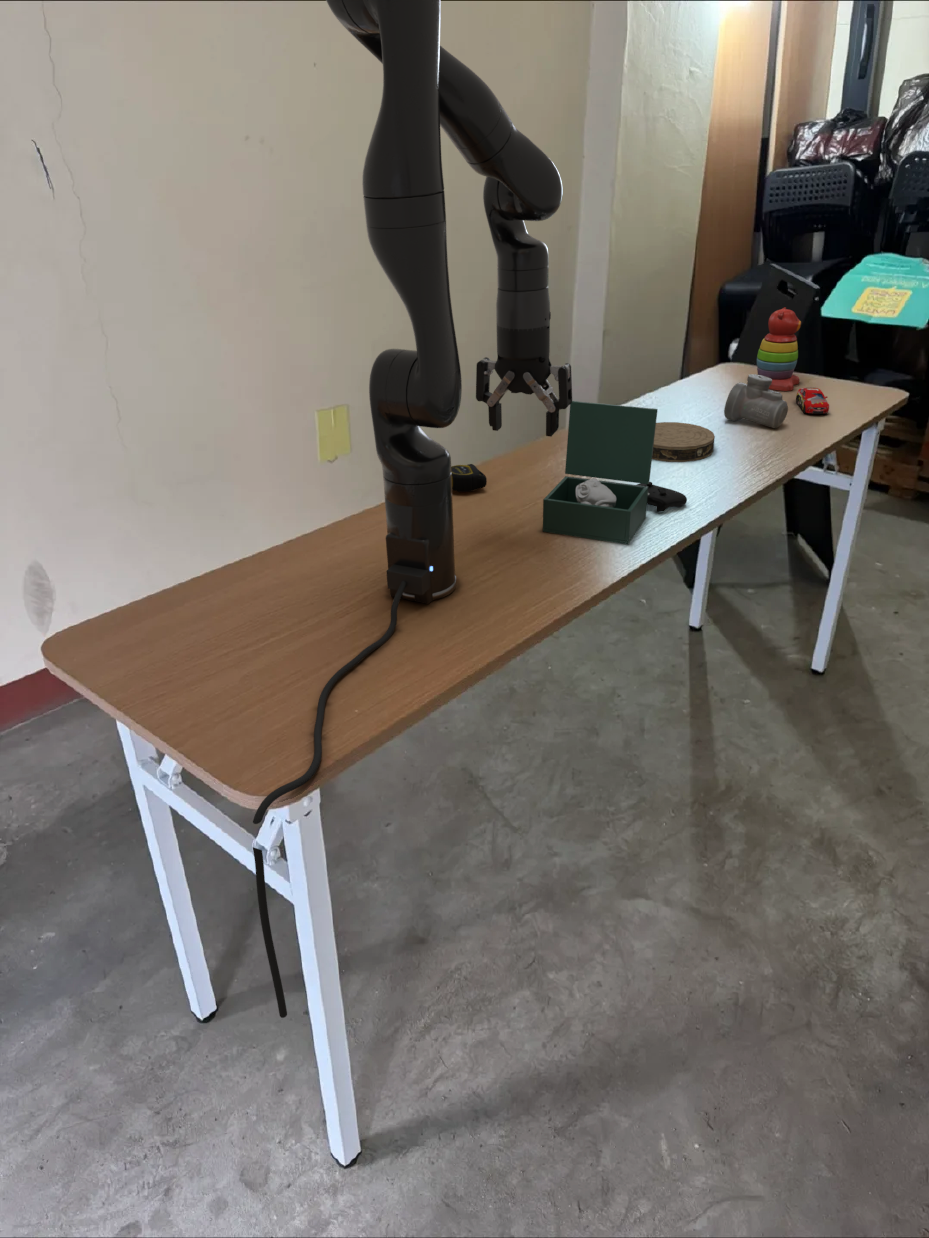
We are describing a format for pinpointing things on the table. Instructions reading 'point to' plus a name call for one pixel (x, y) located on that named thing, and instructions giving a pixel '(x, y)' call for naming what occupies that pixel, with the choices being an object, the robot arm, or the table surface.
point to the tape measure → (467, 478)
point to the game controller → (663, 497)
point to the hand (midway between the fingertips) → (523, 432)
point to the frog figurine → (595, 494)
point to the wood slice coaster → (682, 442)
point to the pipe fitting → (756, 402)
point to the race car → (812, 401)
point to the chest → (595, 512)
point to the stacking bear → (780, 350)
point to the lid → (610, 441)
